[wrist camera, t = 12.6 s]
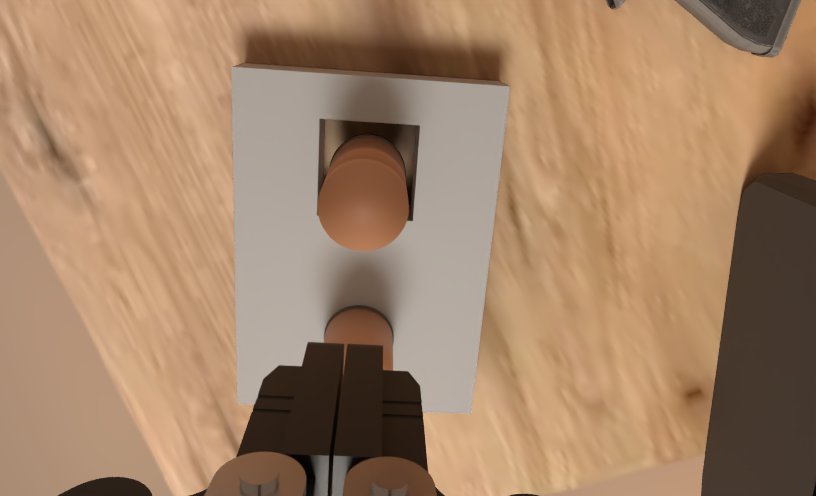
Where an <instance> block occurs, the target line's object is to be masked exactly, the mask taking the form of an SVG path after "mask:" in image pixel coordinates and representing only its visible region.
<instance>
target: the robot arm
mask: <svg viewBox="0 0 816 496" xmlns="http://www.w3.org/2000/svg"><path fill="white" fill-rule="evenodd" d="M343 372H344V375H343ZM58 496H152V493H151V492H150V490H149V489H148V488H147V487H146V486H145V485H144V484H142V483H141V482H139V481H136V480H134V479H129V478H123V477H107V478H101V479H96V480H92V481H88V482H86V483H83V484H80V485H78V486H76V487H74V488H71V489H70V490H68V491H66V492H64V493H62V494H60V495H58ZM190 496H445V495H443V494H442V493H441V492H440V491H439V490H438V489H437V488H436V487H435V484H434V481H433V479H432V477H431V476H430V474H429V473H428V467H427V456H426V445H425V434H424V423H423V412H422V400H421V389H420V385H419V384H418V383H417V381H416V380H415V379H414V378H413V376H412V375H411V374H410V373H409V371H393V370H383V345H365V344H347V350H346V358H345V366H344V344H343V343H322V342H308V343H307V347H306V351H305V355H304V359H303V363H302V366H285V365H279V366H278V367H276V368H275V369H274V370H273V371H272V372H271V373H269V374H268V375H267V376H266V377H265V378H264V379H263V381H262V384H261V387H260V390H259V393H258V398H257V399H256V402H255V405H254V408H253V412H252V413H251V416H250V419H249V422H248V425H247V428H246V431H245V434H244V437H243V440H242V442H241V445H240V448H239V451H238V454H237V457H236V458H234V459H232V460H230V461H228V462H227V463H225V464H224V465H223V466H222V467H221V468H220V469H219V470H218V471H217V472H216V473H215V475H214V477H213V479H212V481H211V483H210V485H209V487H208V489H206V490H204V491H202V492H199V493H196V494H193V495H190ZM510 496H538V495H533V494H515V495H510Z"/></svg>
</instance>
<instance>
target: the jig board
mask: <svg viewBox="0 0 816 496" xmlns="http://www.w3.org/2000/svg"><path fill="white" fill-rule="evenodd" d="M231 75H232V131H233V186H234V242H235V298H236V353H237V404H248V405H255V402H256V399H257V398H258V393H259V390H260V387H261V384H262V381H263V379H264V378H265V377H266V376H267V375H268V374H269V373H271V372H272V371H273V370H274V369H275V368H276V367H278V366H279V365H285V366H302V363H303V359H304V355H305V351H306V347H307V343H308V342H322V343H343V344H344V366H345V358H346V350H347V344H365V345H383V370H393V371H409V373H410V374H411V375H412V376H413V378H414V379H415V380H416V381H417V383H418V384H419V385H420V389H421V400H422V412H433V413H456V414H471V410H472V402H473V393H474V385H475V377H476V368H477V360H478V351H479V343H480V335H481V326H482V318H483V310H484V301H485V293H486V285H487V276H488V268H489V259H490V251H491V243H492V234H493V226H494V218H495V209H496V201H497V193H498V184H499V176H500V167H501V159H502V151H503V142H504V134H505V126H506V117H507V109H508V100H509V92H510V86H508V85H506V84H504V83H502V82H501V81H492V80H478V79H464V78H450V77H436V76H421V75H407V74H393V73H379V72H365V71H351V70H337V69H323V68H309V67H295V66H281V65H266V64H252V63H243V64H239V65H236V66H232V67H231ZM325 119H332V120H347V121H362V122H377V123H392V124H407V125H417V128H416V141H415V155H414V168H413V181H412V195H411V205H409V213H408V218H407V222H406V224H405V227H404V229H403V230H402V232H401V233H400V234H399V236H398V237H397V238H396V239H395V240H394V241H392V242H391V243H390V244H388V245H386V246H385V247H382V248H380V249H377V250H373V251H355V250H351V249H348V248H345V247H343V246H341V245H339V244H338V243H336V242H335V241H334V240H333V239H331V238H330V237H329V235H328V234H327V233H326V232H325V230H324V229H323V227H322V225H321V223H320V219H319V216H318V206H317V205H318V198H319V194H320V191H321V189H322V186H323V169H324V134H325ZM343 375H344V372H343Z"/></svg>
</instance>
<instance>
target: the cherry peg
mask: <svg viewBox="0 0 816 496" xmlns="http://www.w3.org/2000/svg"><path fill="white" fill-rule="evenodd" d="M405 176H406V171H405V164H404V161H403V158H402V156H401V154H400V152H399V151H398V150H397V148H396V147H395V146H394V145H393V144H392V143H390V142H389V141H387V140H386V139H384V138H382V137H381V136H378V135H375V134H362V135H359V136H355V137H353V138H350V139H348V140H347V141H345V142H344V143H343V144H341V145H340V146H339V148H338V149H337V150H336V151H335V153H334V155H333V157H332V160H331V163H330V168H329V171H328V173H327V176H326V178H325V181H324V183H323V186H322V189H321V191H320V194H319V198H318V205H317V206H318V216H319V219H320V223H321V225H322V227H323V229H324V230H325V232H326V233H327V234H328V235H329V237H330V238H331V239H333V240H334V241H335V242H336V243H338V244H339V245H341V246H343V247H345V248H348V249H351V250H355V251H373V250H377V249H380V248H382V247H385V246H386V245H388V244H390V243H391V242H392V241H394V240H395V239H396V238H397V237H398V236H399V234H400V233H401V232H402V230H403V229H404V227H405V224H406V222H407V218H408V213H409V203H408V195H407V187H406V179H405Z"/></svg>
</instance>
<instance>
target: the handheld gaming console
mask: <svg viewBox="0 0 816 496" xmlns="http://www.w3.org/2000/svg"><path fill="white" fill-rule="evenodd" d="M701 496H816V181H815V180H812V179H809V178H806V177H804V176H801V175H798V174H794V173H776V174H762V175H760V176H759V177H758V178H757V179H756V180H754V181H753V182H752V183H751V184H750V185H749V186H748V187H747V188H746V189H745V190H744V191H743V194H742V199H741V204H740V209H739V213H738V218H737V224H736V232H735V239H734V247H733V254H732V261H731V269H730V276H729V283H728V291H727V298H726V306H725V313H724V320H723V328H722V335H721V342H720V350H719V357H718V364H717V372H716V379H715V387H714V394H713V401H712V409H711V416H710V423H709V431H708V438H707V445H706V453H705V460H704V468H703V476H702V493H701Z"/></svg>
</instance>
